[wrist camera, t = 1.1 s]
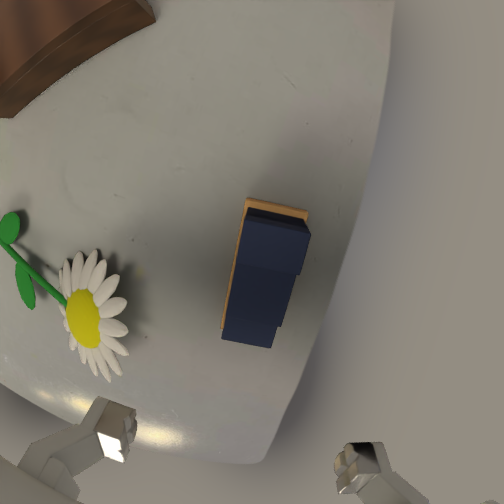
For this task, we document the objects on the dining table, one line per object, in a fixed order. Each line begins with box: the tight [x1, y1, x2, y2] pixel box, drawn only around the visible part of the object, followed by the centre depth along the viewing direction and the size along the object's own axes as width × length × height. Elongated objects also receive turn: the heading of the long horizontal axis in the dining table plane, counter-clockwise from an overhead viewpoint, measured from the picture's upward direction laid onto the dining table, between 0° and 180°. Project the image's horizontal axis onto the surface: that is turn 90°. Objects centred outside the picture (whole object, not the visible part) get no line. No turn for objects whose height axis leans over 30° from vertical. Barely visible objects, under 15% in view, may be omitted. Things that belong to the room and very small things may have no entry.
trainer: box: [221, 198, 311, 348], centre depth 23 cm, size 12×5×6 cm, turn 168°
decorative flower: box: [0, 212, 129, 382], centre depth 25 cm, size 13×5×30 cm
